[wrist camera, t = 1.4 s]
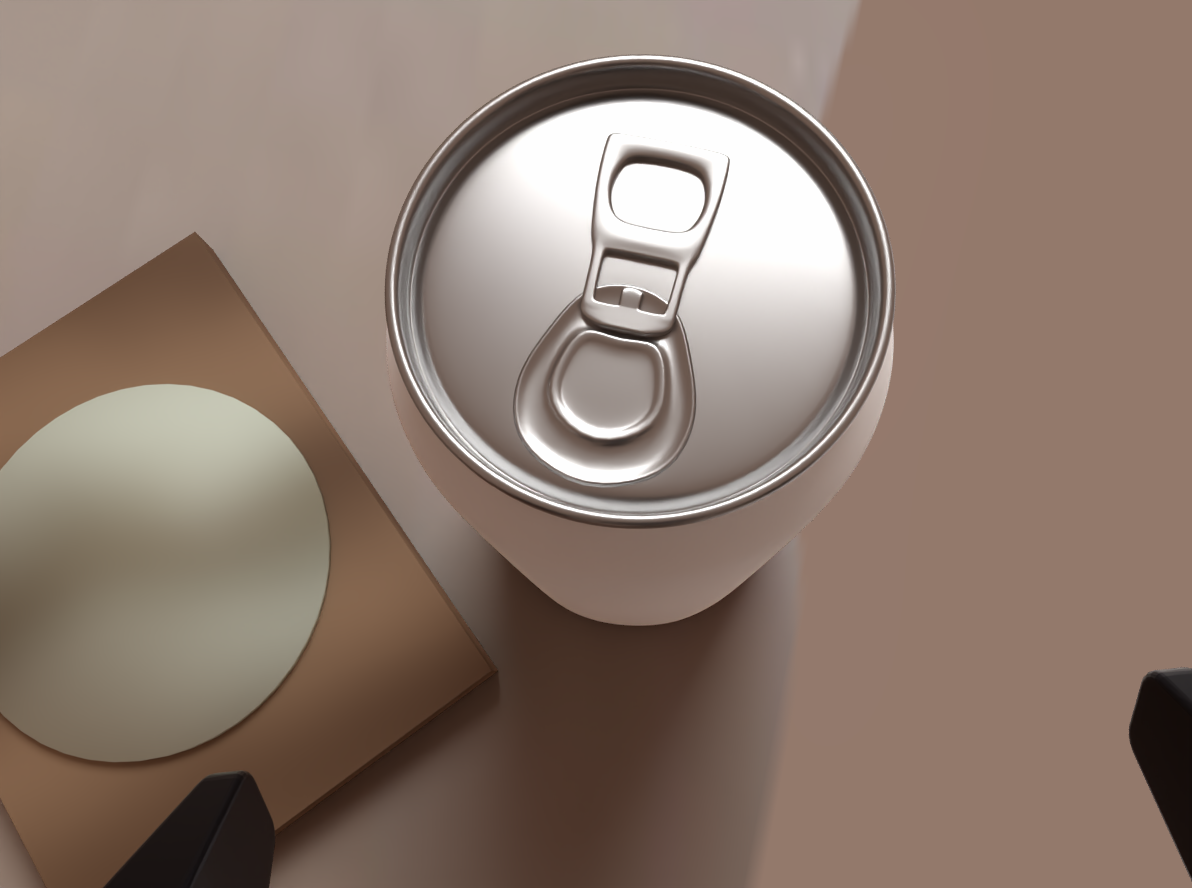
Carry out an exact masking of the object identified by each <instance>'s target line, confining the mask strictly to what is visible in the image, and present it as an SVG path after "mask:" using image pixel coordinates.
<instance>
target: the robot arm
mask: <svg viewBox="0 0 1192 888" xmlns="http://www.w3.org/2000/svg"><path fill="white" fill-rule="evenodd" d="M1129 739H1130V744H1131V747H1132V750H1133V753H1134V755H1135V757H1136V760H1137V762H1138V764H1139V766H1140V769H1141V771H1142V773H1143V775H1144V777H1145V780H1146V782H1147V784H1148V786H1149V788H1150V791H1151V793H1152V795H1153V797H1154V799H1155V802H1156V803H1157V806H1158V808H1159V810H1160V813H1161V815H1162V817H1163V819H1164V821H1165V824H1166V826H1167V828H1168V830H1169V832H1170V834H1171V837H1172V839H1173V841H1174V843H1175V846H1176V848H1177V850H1178V852H1179V854H1180V856H1181V859H1182V861H1183V863H1184V865H1185V868H1186V870H1187V872H1188V874H1189V876H1190V878H1191V880H1192V669H1191V668H1185V667H1184V668H1173V669H1164V670H1155V671H1151V672H1149V673H1148V674H1147V675H1146V676H1145V677H1144V678H1143V680H1142V682H1141V686H1140V690H1139V693H1138V697H1137V700H1136V704H1135V708H1134V711H1133V715H1132V718H1131V722H1130V726H1129ZM274 847H275V828H274V823H273V820H272V817H271V815H270V813H269V810H268V808H267V806H266V804H265V802H264V799H263V797H262V795H261V793H260V790H259V788H258V786H257V784H256V781H255V779H254V778H253V776H252V775H251V774H250V773H249V772H247V771H242V770H240V771H231V772H222V773H214V774H210V775H208V776H206V777H205V778H204V779H202V780H201V781H200V782H199V783H198V784H197V785H196V786H195V787H194V788H193V789H192V791H191V792H190V793H189V794H188V795H187V796H186V797H185V798H184V799H183V800H182V801H181V803H180V804H179V805H178V806H177V807H176V808H175V809H174V810H173V811H172V812H171V813H170V815H169V816H168V817H167V818H166V819H165V820H164V821H163V822H162V823H161V824H160V825H159V827H158V828H157V829H156V830H155V831H154V832H153V833H152V834H151V835H150V836H149V837H148V839H147V840H146V841H145V842H144V843H143V844H142V845H141V846H140V847H139V848H138V849H137V851H136V852H135V853H134V854H133V855H132V856H131V857H130V858H129V859H128V860H127V861H126V863H125V864H124V865H123V866H122V867H121V868H120V869H119V870H118V871H117V872H116V873H115V875H114V876H113V877H112V878H111V879H110V880H109V881H108V882H107V883H106V884H105V885H104V887H103V888H269V884H270V877H271V869H272V862H273V854H274Z"/></svg>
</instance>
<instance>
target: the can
mask: <svg viewBox="0 0 1192 888" xmlns="http://www.w3.org/2000/svg"><path fill="white" fill-rule="evenodd" d="M895 295H896V287H895V268H894V259H893V253H892V247H891V243H890V239H889V234H888V231H887V227H886V224H885V221H884V218H883V215H882V212H881V210H880V207H879V205H878V202H877V200H876V198H875V196H874V193H873V191H872V189H871V188H870V186H869V184H868V182H867V180H866V178H865V177H864V175H863V173H862V172H861V170H860V169H859V167H858V166H857V164H856V163H855V161H854V160H853V159H852V157H851V156H850V154H849V153H848V152H847V150H846V149H845V148H844V147H843V146H842V144H841V143H840V142H839V141H838V140H837V139H836V138H835V136H834V135H833V134H832V133H831V132H830V131H829V130H828V129H827V128H826V127H825V126H824V125H823V124H822V123H821V122H820V121H818V120H817V119H816V118H815V117H814V116H813V115H811V114H810V113H809V112H808V111H807V110H805V109H804V108H803V107H801V106H800V105H799V104H797V103H796V102H794V101H793V100H792V99H790V98H789V97H787V96H785V95H784V94H782V93H781V92H779V91H777V90H775V89H774V88H772V87H770V86H768V85H766V84H764V83H762V82H760V81H758V80H756V79H754V78H752V77H749V76H747V75H745V74H742V73H740V72H737V71H734V70H731V69H729V68H726V67H722V66H719V65H716V64H712V63H708V62H704V61H699V60H694V59H689V58H683V57H675V56H666V55H648V54H637V55H618V56H608V57H601V58H595V59H589V60H585V61H580V62H576V63H572V64H568V65H565V66H561V67H558V68H555V69H552V70H549V71H547V72H544V73H541V74H539V75H537V76H534V77H532V78H530V79H528V80H525V81H523V82H521V83H519V84H517V85H515V86H513V87H512V88H510V89H508V90H506V91H505V92H503V93H501V94H500V95H498V96H496V97H495V98H493V99H492V100H490V101H489V102H487V103H486V104H485V105H483V106H482V107H480V108H479V109H478V110H477V111H475V112H474V113H473V114H472V115H470V116H469V117H468V118H467V119H466V120H465V121H463V122H462V123H461V124H460V125H459V126H458V127H457V128H456V129H455V130H454V131H453V132H452V133H451V134H450V135H449V136H448V137H447V138H446V139H445V140H444V142H443V143H442V144H441V145H440V146H439V147H438V149H437V150H436V151H435V152H434V154H433V155H432V156H431V158H430V159H429V160H428V162H427V163H426V164H425V166H424V167H423V169H422V170H421V172H420V174H419V175H418V177H417V179H416V180H415V182H414V184H413V186H412V187H411V189H410V191H409V193H408V195H407V197H406V199H405V202H404V204H403V206H402V209H401V211H400V214H399V216H398V219H397V222H396V225H395V228H394V232H393V235H392V239H391V243H390V247H389V253H388V258H387V265H386V275H385V311H386V321H387V332H386V354H387V366H388V374H389V381H390V386H391V391H392V395H393V399H394V403H395V406H396V410H397V413H398V416H399V419H400V421H401V424H402V427H403V429H404V431H405V434H406V436H407V438H408V440H409V442H410V444H411V447H412V449H413V451H414V453H415V454H416V456H417V458H418V460H419V462H420V463H421V465H422V467H423V468H424V470H425V472H426V473H427V475H428V476H429V478H430V479H431V480H432V482H433V483H434V485H435V486H436V487H437V489H438V490H439V491H440V492H441V494H442V495H443V496H444V497H445V498H446V499H447V501H448V502H449V503H450V504H451V505H452V506H453V508H454V509H455V510H456V511H457V512H458V513H459V514H460V515H461V516H462V517H463V518H464V519H465V520H466V521H467V522H468V523H469V524H470V525H471V526H472V527H473V528H474V529H475V530H476V531H477V532H478V533H479V534H480V535H481V536H482V537H483V538H484V539H485V540H486V541H487V542H488V543H489V544H491V545H492V546H493V547H494V548H495V549H496V550H497V551H498V552H499V553H500V554H501V555H502V556H503V557H505V558H506V559H507V560H508V561H509V562H510V563H511V564H512V565H513V566H514V567H516V568H517V569H518V570H519V571H520V572H521V573H522V574H523V575H525V576H526V577H527V578H528V579H529V580H530V581H531V582H532V583H534V584H535V585H536V586H537V587H538V588H539V589H541V590H542V591H543V592H544V593H545V594H547V595H548V596H549V597H550V598H552V599H553V600H554V601H556V602H557V603H558V604H560V605H561V606H563V607H565V608H566V609H568V610H570V611H572V612H574V613H576V614H578V615H581V616H583V617H586V618H589V619H593V620H596V621H600V622H605V623H611V624H619V625H634V626H644V625H659V624H665V623H670V622H675V621H678V620H681V619H684V618H687V617H690V616H692V615H695V614H697V613H699V612H701V611H703V610H705V609H707V608H708V607H710V606H712V605H714V604H715V603H717V602H718V601H720V600H721V599H723V598H724V597H725V596H727V595H728V594H729V593H731V592H732V591H733V590H734V589H736V588H737V587H738V586H739V585H740V584H742V583H743V582H744V581H745V580H746V579H748V578H749V577H750V576H751V575H752V574H753V573H755V572H756V571H757V570H758V569H759V568H760V567H762V566H763V565H764V564H765V563H766V562H767V561H768V560H770V559H771V558H772V557H773V556H774V555H775V554H776V553H777V552H779V551H780V550H781V549H782V548H783V547H784V546H785V545H786V544H787V543H789V542H790V541H791V540H792V539H793V538H794V537H795V536H796V535H797V534H799V533H800V532H801V531H802V530H803V529H804V528H805V527H806V526H807V525H808V524H809V523H810V522H811V521H812V520H813V519H814V518H815V517H816V516H817V515H818V514H819V513H820V512H821V511H822V510H823V509H824V507H825V506H826V505H827V504H828V503H829V502H830V501H831V500H832V499H833V497H834V496H835V495H836V494H837V493H838V491H839V490H840V489H841V488H842V486H843V485H844V484H845V482H846V481H847V480H848V478H849V477H850V475H851V474H852V472H853V471H854V469H855V468H856V466H857V464H858V463H859V461H860V459H861V457H862V456H863V454H864V452H865V450H866V448H867V446H868V444H869V442H870V440H871V438H872V435H873V433H874V431H875V429H876V427H877V424H878V421H879V418H880V416H881V413H882V410H883V407H884V404H885V400H886V396H887V392H888V387H889V383H890V377H891V370H892V362H893V345H894V338H893V337H894V336H893V320H894V311H895Z"/></svg>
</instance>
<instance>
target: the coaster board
mask: <svg viewBox="0 0 1192 888" xmlns="http://www.w3.org/2000/svg"><path fill="white" fill-rule="evenodd" d="M497 671H498V670H497V668H496V667H495V665H494V664H493V662H492V661H491V659H490V658H489V656H488V655H487V653H486V652H485V650H484V649H483V648H482V646H481V645H480V643H479V642H478V640H477V639H476V637H475V636H474V634H473V633H472V631H471V630H470V628H469V627H468V625H467V624H466V622H465V621H464V619H463V618H462V617H461V615H460V614H459V612H458V611H457V609H456V608H455V606H454V605H453V603H452V602H451V600H450V599H449V597H448V596H447V594H446V593H445V591H444V590H443V589H442V587H441V586H440V584H439V583H438V581H437V580H436V578H435V577H434V575H433V574H432V572H431V571H430V569H429V568H428V566H427V565H426V563H425V562H424V560H423V559H422V558H421V556H420V555H419V553H418V552H417V550H416V549H415V547H414V546H413V544H412V543H411V541H410V540H409V538H408V537H407V535H406V534H405V532H404V531H403V529H402V528H401V527H400V525H399V524H398V522H397V521H396V519H395V518H394V516H393V515H392V513H391V512H390V510H389V509H388V507H387V506H386V504H385V503H384V501H383V500H382V499H381V497H380V496H379V494H378V493H377V491H376V490H375V488H374V487H373V485H372V484H371V482H370V481H369V479H368V478H367V476H366V475H365V473H364V472H363V470H362V469H361V468H360V466H359V465H358V463H357V462H356V460H355V459H354V457H353V456H352V454H351V453H350V451H349V450H348V448H347V447H346V445H345V444H344V442H343V441H342V439H341V438H340V437H339V435H338V434H337V432H336V431H335V429H334V428H333V426H332V425H331V423H330V422H329V420H328V419H327V417H326V416H325V414H324V413H323V411H322V410H321V409H320V407H319V406H318V404H317V403H316V401H315V400H314V398H313V397H312V395H311V394H310V392H309V391H308V389H307V388H306V386H305V385H304V383H303V382H302V380H301V379H300V378H299V376H298V375H297V373H296V372H295V370H294V369H293V367H292V366H291V364H290V363H289V361H288V360H287V358H286V357H285V355H284V354H283V352H282V351H281V350H280V348H279V347H278V345H277V344H276V342H275V341H274V339H273V338H272V336H271V335H270V333H269V332H268V330H267V329H266V327H265V326H264V324H263V323H262V321H261V320H260V319H259V317H258V316H257V314H256V313H255V311H254V310H253V308H252V307H251V305H250V304H249V302H248V301H247V299H246V298H245V296H244V295H243V293H242V292H241V290H240V289H239V288H238V286H237V285H236V283H235V282H234V280H233V279H232V277H231V276H230V274H229V273H228V271H227V270H226V268H225V267H224V265H223V264H222V262H221V261H220V260H219V258H218V257H217V255H216V254H215V252H214V251H213V249H212V248H211V247H210V246H209V245H208V244H207V243H206V242H205V241H204V240H203V239H202V238H201V237H200V236H199V235H198V234H197V233H196V232H194V233H192V234H191V235H189V236H188V237H186V238H185V239H183V240H182V241H180V242H178V243H177V244H175V245H174V246H172V247H171V248H169V249H168V250H166V251H165V252H163V253H161V254H160V255H158V256H157V257H155V258H154V259H152V260H151V261H149V262H147V263H146V264H144V265H143V266H141V267H140V268H138V269H137V270H135V271H134V272H132V273H130V274H129V275H127V276H126V277H124V278H123V279H121V280H120V281H118V282H117V283H115V284H113V285H112V286H110V287H109V288H107V289H106V290H104V291H103V292H101V293H100V294H98V295H96V296H95V297H93V298H92V299H90V300H89V301H87V302H86V303H84V304H82V305H81V306H79V307H78V308H76V309H75V310H73V311H72V312H70V313H69V314H67V315H65V316H64V317H62V318H61V319H59V320H58V321H56V322H55V323H53V324H52V325H50V326H48V327H47V328H45V329H44V330H42V331H41V332H39V333H38V334H36V335H34V336H33V337H31V338H30V339H28V340H27V341H25V342H24V343H22V344H21V345H19V346H17V347H16V348H14V349H13V350H11V351H10V352H8V353H7V354H5V355H4V356H2V357H0V799H1V801H2V803H3V804H4V806H5V808H6V810H7V812H8V814H9V816H10V818H11V820H12V822H13V824H14V826H15V828H16V830H17V832H18V834H19V836H20V838H21V839H22V841H23V843H24V845H25V847H26V849H27V851H28V853H29V855H30V857H31V859H32V861H33V863H34V865H35V867H36V869H37V871H38V872H39V874H40V876H41V878H42V880H43V882H44V884H45V886H46V888H103V887H104V885H105V884H106V883H107V882H108V881H109V880H110V879H111V878H112V877H113V876H114V875H115V873H116V872H117V871H118V870H119V869H120V868H121V867H122V866H123V865H124V864H125V863H126V861H127V860H128V859H129V858H130V857H131V856H132V855H133V854H134V853H135V852H136V851H137V849H138V848H139V847H140V846H141V845H142V844H143V843H144V842H145V841H146V840H147V839H148V837H149V836H150V835H151V834H152V833H153V832H154V831H155V830H156V829H157V828H158V827H159V825H160V824H161V823H162V822H163V821H164V820H165V819H166V818H167V817H168V816H169V815H170V813H171V812H172V811H173V810H174V809H175V808H176V807H177V806H178V805H179V804H180V803H181V801H182V800H183V799H184V798H185V797H186V796H187V795H188V794H189V793H190V792H191V791H192V789H193V788H194V787H195V786H196V785H197V784H198V783H199V782H200V781H201V780H202V779H204V778H205V777H206V776H208V775H210V774H214V773H222V772H231V771H240V770H242V771H247V772H249V773H250V774H251V775H252V776H253V778H254V779H255V781H256V784H257V786H258V788H259V790H260V793H261V795H262V797H263V799H264V802H265V804H266V806H267V808H268V810H269V813H270V815H271V817H272V820H273V823H274V828H275V835H277V834H278V833H279V832H281V831H282V830H284V829H285V828H286V827H288V826H289V825H290V824H292V823H293V822H294V821H296V820H297V819H298V818H300V817H301V816H302V815H304V814H305V813H307V812H308V811H309V810H311V809H312V808H313V807H315V806H316V805H317V804H319V803H320V802H321V801H323V800H324V799H325V798H327V797H328V796H330V795H331V794H332V793H334V792H335V791H336V790H338V789H339V788H340V787H342V786H343V785H344V784H346V783H347V782H348V781H350V780H351V779H352V778H354V777H355V776H357V775H358V774H359V773H361V772H362V771H363V770H365V769H366V768H367V767H369V766H370V765H371V764H373V763H374V762H375V761H377V760H378V759H380V758H381V757H382V756H384V755H385V754H386V753H388V752H389V751H390V750H392V749H393V748H394V747H396V746H397V745H398V744H400V743H401V742H403V741H404V740H405V739H407V738H408V737H409V736H411V735H412V734H413V733H415V732H416V731H417V730H419V729H420V728H421V727H423V726H424V725H425V724H427V723H428V722H430V721H431V720H432V719H434V718H435V717H436V716H438V715H439V714H440V713H442V712H443V711H444V710H446V709H447V708H448V707H450V706H451V705H453V704H454V703H455V702H457V701H458V700H459V699H461V698H462V697H463V696H465V695H466V694H467V693H469V692H470V691H471V690H473V689H474V688H476V687H477V686H478V685H480V684H481V683H482V682H484V681H485V680H486V679H488V678H489V677H490V676H492V675H493V674H494V673H496V672H497Z"/></svg>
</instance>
